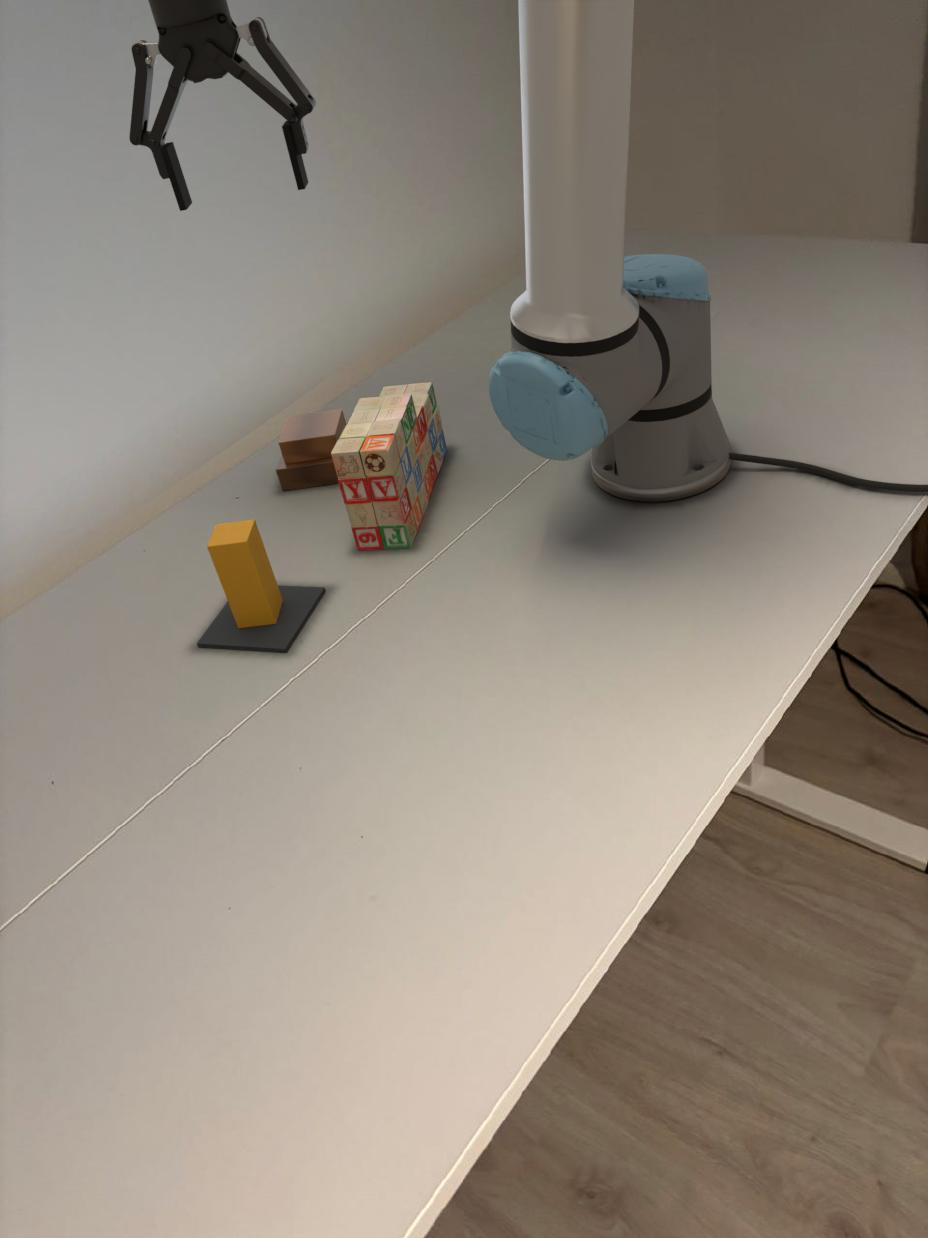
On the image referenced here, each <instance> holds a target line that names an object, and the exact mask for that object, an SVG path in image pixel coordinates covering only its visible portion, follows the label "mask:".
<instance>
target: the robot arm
mask: <svg viewBox="0 0 928 1238" xmlns="http://www.w3.org/2000/svg"><path fill="white" fill-rule="evenodd" d="M147 2H148V4H149V8H150V11H151V14H152V16H153V17H152V18H153V21H154V23H155V27H156V30H157V33H158V41H147V40H145V39H141V40H139V41H137V42H136V43H134V44H132V46H131V54H132V58H133V63H134V67H135V73H134V85H133V94H132V106H131V114H130V115H131V118H130V127H129V142H130V143H131V145H133V146H142V147H147V148H149V149H150V151H151V153H152V157H153V159H154V162H155V165H156V168H157V170H158V174H159V176H160V177H161V179H162V180H167V179H169V181H170V182H169V183H170V185H171V188H172V191H173V193H174V197H175V199H176V202H177V206H178V209H179V212H183V211H187V210H188V209H189V208H190V206H191V205H192V204H193V200H192V197H191V195H190V191H189V188H188V185H187V181H186V179H185V176H184V172H183V169H182V166H181V163H180V160H179V157H178V153H177V149H176V148H175V143H174V142H173V141H170V142H165V141H166V140H167V136H168V135H167V134H168V133H169V130H170V127H171V125H172V122H173V119H174V116H175V113H176V111H177V108H178V105H179V104H180V100H181V97H182V95H183V93H184V90H185V87H186V85H187V84H188V81H189V82H192V83H193V84H197V83H201V82H204V81H205V80H207V79H210V80H218V79H223V78H224V77H225V76H227V75H228V74H229V75H231V76H232V77H233V78H234V79H236V80H238V81H240V82H241V83H242V84H244V85H245V86H246V87H247V88H248V89H249V90H251V91H252V92H253V93H254V94H256V95H257V97H259V98H260V99H261V100H262V101H264V102H265V103H266V104H267V105H268V106H269V107H271V108H272V109H273V110H274V111H275V112H276V113H278V114H279V115H280V116H281V117H282V118H284V119H285V122H284V123H282V126H281V129H282V133H283V138H284V141H285V144H286V148H287V153H288V156H289V161H290V163H291V164H290V165H291V169H292V171H293V175H294V179H295V184H296V188H297V191H302V190H305V189H306V188H307V186H308V184H309V179H308V175H307V171H306V167H305V166H306V165H305V163H304V159H303V156H302V155H305V154H307V153H308V151H309V141H308V137H307V133H306V129H305V125H304V117H305V116H307V115H308V114H311V113H312V112H313V111H314V109H315V107H316V106H317V101H316V98H315V97H314V96H313V94H312V93H311V92H310V90H309V89H308V88H307V86H306V85H305V84H304V82H303V80H301V79H300V77H299V76H298V75H297V73H296V72H295V70H294V69H293V67H291V65H290V64H289V62H288V61H287V60H286V58H285V56H283V54H282V52H281V51H280V50H279V49H278V47H277V46H276V45H275V43H274V42H273V40H272V39H271V37H270V33H269V31H268V28H267V25H266V22H265V20H264V19H263V18H262V17H260V16H257V17H254V18H253V19H252V20H251V21H248V22H246V23H243V24H239V25H237V24H236V23H235V22H234V20H233V18H232V16H231V12H230V8H229V5H228V0H148V1H147ZM517 3H518V4H517V6H518V7H517V9H518V39H519V44H518V45H519V71H520V72H519V73H520V74H519V76H520V77H519V78H520V107H521V108H520V110H521V112H520V113H521V143H522V146H521V147H522V148H521V149H522V177H523V178H522V179H523V182H522V183H523V212H524V214H523V217H524V249H525V251H524V253H525V281H526V282H525V286H526V290H525V291H524V292H522V294H520V295H519V296H518V297H517V298H516V299H515V300H514V301H513V303H512V305H511V307H510V313H509V315H510V316H509V318H510V351H508V352H506V353H503V354H502V355H501V356H500V357H499V359H498V360H497V361H496V363H495V364H494V365H493V367H492V369H491V370H490V373H489V377H488V385H487V386H488V395H489V400H490V403H491V406H492V408H493V411H494V413H495V415H496V417H497V419H498V420H499V422H500V424H501V425H502V427H503V428H504V429H505V430H506V431H508V432H509V434H510V435H511V437H512V439H514V440H515V441H516V442H517V443H518V444H519V445H521V447H523V448H525V449H526V450H528V452H530V453H533V455H537V456H539V457H540V458H544V459H546V460H550V461H558V462H561V461H562V462H565V461H566V462H567V461H571V460H575V459H577V458H580V457H582V456H583V455H585V454H586V453H587V452H589V451H591V454H590V466H591V475H592V478H593V481H594V483H595V484H596V485H597V486H598V487H599V488H600V489H602V490H603V491H604V492H605V493H608V494H609V495H612V496H615V497H618V498H621V499H625V500H630V501H636V502H649V503H651V502H652V503H653V502H654V503H655V502H668V501H675V500H680V499H684V498H688V497H691V496H695V495H698V494H700V493H702V492H704V491H707V490H709V489H710V488H712V487H714V486H715V485H717V484H718V483H719V482H721V481H722V480H723V479H724V478H725V477H726V475H727V474H728V472H729V471H730V469H731V464H732V461H736V462H743V463H744V462H745V463H751V464H752V463H753V464H760V465H769V466H776V467H782V468H790V469H794V470H795V469H796V470H801V471H804V472H809V473H813V474H817V475H821V476H822V477H823V476H824V477H826V478H829V479H833V480H836V481H839V482H842V483H846V484H850V485H853V486H857V487H862V488H867V489H868V488H869V489H875V490H883V491H891V492H906V493H928V484H916V483H915V484H914V483H913V484H911V483H895V482H886V481H885V482H884V481H877V480H871V479H865V478H860V477H857V476H852V475H848V474H846V473H841V472H839V471H835V470H832V469H829V468H825V467H822V466H818V465H815V464H810V463H806V462H801V461H797V460H790V459H783V458H776V457H767V456H760V455H752V454H746V453H736V452H732V449H731V444H730V440H729V437H728V434H727V432H726V430H725V427H724V424H723V421H722V420H721V417H720V414H719V412H718V410H717V407H716V405H715V404H716V403H715V402H714V398H713V389H712V387H713V385H712V383H713V382H712V377H713V376H712V336H711V335H712V333H711V329H712V328H711V301H712V295H711V294H710V286H709V275H708V271H707V269H706V268H705V266H704V265H703V264H702V263H700V262H699V261H698V260H696V259H694V258H691V257H688V256H685V255H684V256H683V255H679V254H667V253H645V254H633V255H626V256H625V254H626V253H625V252H626V225H627V201H628V200H627V199H628V177H629V176H628V173H629V172H628V171H629V148H630V147H629V145H630V125H631V124H630V122H631V120H630V119H631V97H632V96H631V94H632V69H633V68H632V67H633V66H632V65H633V45H634V43H633V42H634V17H635V16H634V15H635V0H517ZM241 39H244V40H245V41H246V42H247V44H248V45H249V46H251V47H255V48H256V50H257V52H258V54H259V56H260V57H261V58H262V59H263V60H264V62H265V63H266V64H267V65H268V67H269V68H270V69H271V71H272V72H273V74H274V75H275V77H276V78H277V79H278V80H279V82H280V84H282V86H283V87H284V88H285V90H286V91H287V92H288V93H289V95H290V96H291V98H292V99H293V100H294V102H295V103H294V102H293V101H292V100H291V99H290V98H288V97H287V95H285V94H284V93H283V92H282V91H281V90H279V89H278V88H277V87H276V86H275V85H274V84H272V83H271V82H270V81H268V79H266V78H265V77H264V76H263V75H262V74H261V73H260V72H258V70H256V69H255V68H254V67H252V66H251V64H250V63H249V62H248V61H247V59H245V58H244V57H243V56H241V54H239V53H238V49H239V46H240V43H241ZM159 55H161V57H162V58H163V59H164V60H165V61H167V62H168V63H169V65H171V66H172V67H173V68H172V71H171V74H170V76H169V78H168V82H167V87H166V90H165V92H164V95H163V98H162V100H161V103H160V106H159V109H158V111H157V115H156V116H155V119H154V122H153V124H152V127H151V130H150V131H149V130H148V128H149V121H150V119H149V118H150V109H151V99H152V90H153V89H152V88H153V80H154V65H156V64H157V63H158V61H159Z"/></svg>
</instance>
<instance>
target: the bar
mask: <svg viewBox="0 0 928 1238" xmlns="http://www.w3.org/2000/svg"><path fill="white" fill-rule="evenodd" d="M206 547H207V551H208V553H209V556H210V558H211V561H212V563H213V566H214V569H215V572H216V574H217V577H218V579H219V582H220V585H221V587H222V589H223V593H224V595H225V597H226V599H227V602H228V603H229V605H230V608H231V610H232V613H233V615H234V618H235V621H236V623H237V626H238V628H246V627H254V626H262V625H271V624H276V623H277V619H278V616H279V612H280V609H281V605H282V602H283V599H282V596H281V593H280V590H279V588H278V586H279V585H278V581H277V579H276V576H275V573H274V571H273V568H272V564H271V562H270V559H269V556H268V553H267V550H266V547H265V544H264V542H263V539H262V535H261V533H260V530H259V527H258V525H257V522H256V519H254V518H251V519H245V520H238V521H230V522H222V523H216V524H215V526H214V528H213V531H212V533H211V535H210V538H209V540H208V543H207V546H206Z"/></svg>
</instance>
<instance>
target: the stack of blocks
mask: <svg viewBox="0 0 928 1238" xmlns="http://www.w3.org/2000/svg"><path fill="white" fill-rule="evenodd" d="M437 403H438V402H437V399H436V393H435V389H434V384H433V382H431V381H429V382H415V383H409V384H398V385H397V384H396V385H387V386H385V385H384V386H383V387H382V389H381V391H380V393H379V396H372V397H360V398H359V399H358V401H357V403H356V404H355V407H354V409H353V412H352V414H351V415H350V417H349V420H348V421H347V423H346V427H345V429H344V430H343V432H342V434H341V436H340V438H339V440H338V441H337V443H336V445H335V446H334V448H333V450H332V452H331V456H332V460H333V463H334V466H335V470H336V473H337V476H338V482H339V483H338V485H339V490H340V493H341V496H342V499H343V502H344V506H345V509H346V511H347V514H348V519H349V523H350V525H351V531H352V535H353V538H354V541H355V545H356V549H357V551H374V550H375V551H376V550H377V551H378V550H385V549H386V550H394V549H395V550H397V549H411V548H412V547H413V543H414V541H415V538H416V536H417V533H418V532H419V530H420V527H421V524H422V522H423V519H424V516H425V513H426V511H427V508H428V506H429V500H430V496H431V494H432V492H433V487H434V485H435V482H436V480H437V476H438V475H439V473H440V471H441V468H442V465H443V463H444V459H445V457H446V454H447V450H448V446H447V443H446V438H445V433H444V429H443V423H442V422H443V421H442V418H441V412H440V408H439V405H438V404H437Z"/></svg>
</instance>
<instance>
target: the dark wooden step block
mask: <svg viewBox="0 0 928 1238" xmlns="http://www.w3.org/2000/svg"><path fill="white" fill-rule="evenodd" d="M346 425H347V422H346V418H345V414H344V410H343V408H335V409H329V410H322V411H316V412H309V413H303V414H295V415H288V416H287V419H286V421H285V424H284V427H283V429H282V432H281V435H280V437H279V440H278V446H279V450H280V452H281V454H280V456H279V460H278V462H277V465H276V468H275V471H276V475H277V478H278V481H279V484H280V488H281V491H282V492H285V491H292V490H300V489H307V488H314V487H321V486H328V485H336V484H339V482H338V476H337V473H336V470H335V466H334V463H333V460H332V456H331V452H332V450H333V448H334V446H335V445H336V443H337V441H338V440H339V438H340V436H341V434H342V432H343V430H344V429H345V427H346Z"/></svg>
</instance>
